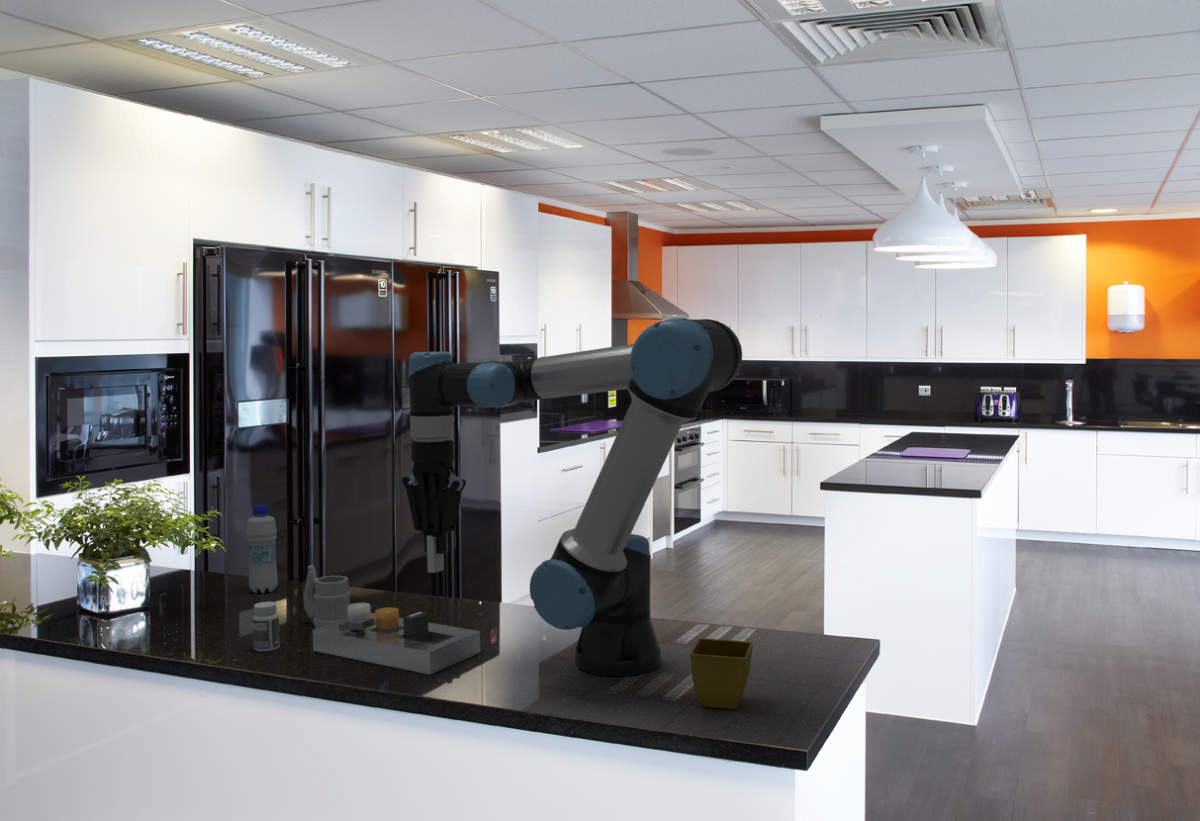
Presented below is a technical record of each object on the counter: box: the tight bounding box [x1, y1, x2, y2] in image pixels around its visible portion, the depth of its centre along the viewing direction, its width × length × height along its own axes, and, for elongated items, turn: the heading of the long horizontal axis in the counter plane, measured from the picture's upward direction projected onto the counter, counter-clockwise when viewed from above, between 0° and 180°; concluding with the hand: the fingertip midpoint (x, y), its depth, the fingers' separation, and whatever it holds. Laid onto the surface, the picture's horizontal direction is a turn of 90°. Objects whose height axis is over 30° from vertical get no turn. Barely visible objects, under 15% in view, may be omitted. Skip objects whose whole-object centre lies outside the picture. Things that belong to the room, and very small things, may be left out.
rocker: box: [339, 618, 375, 631], centre depth 190 cm, size 6×3×1 cm, turn 59°
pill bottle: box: [251, 601, 281, 653], centre depth 195 cm, size 5×5×8 cm
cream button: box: [347, 602, 372, 621], centre depth 196 cm, size 4×4×3 cm
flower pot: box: [689, 637, 754, 710], centre depth 163 cm, size 9×9×9 cm
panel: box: [312, 612, 481, 675], centre depth 192 cm, size 28×14×5 cm, turn 59°
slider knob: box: [402, 611, 429, 641], centre depth 189 cm, size 2×4×5 cm, turn 149°
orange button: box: [374, 606, 400, 630], centre depth 193 cm, size 4×4×3 cm
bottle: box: [245, 504, 279, 594], centre depth 238 cm, size 7×7×20 cm
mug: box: [302, 564, 352, 629], centre depth 209 cm, size 8×12×12 cm, turn 57°
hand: (435, 570), depth 186 cm, fingers closed
